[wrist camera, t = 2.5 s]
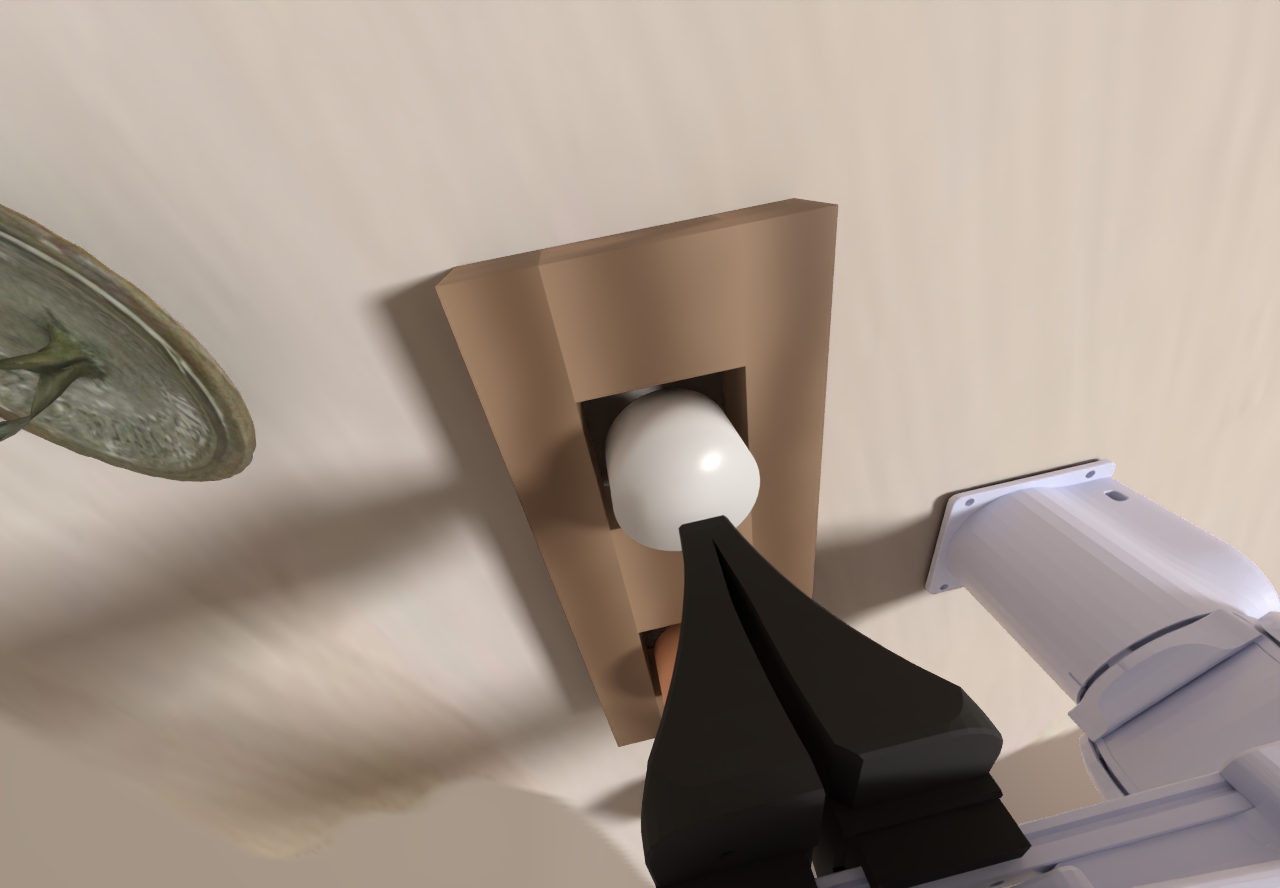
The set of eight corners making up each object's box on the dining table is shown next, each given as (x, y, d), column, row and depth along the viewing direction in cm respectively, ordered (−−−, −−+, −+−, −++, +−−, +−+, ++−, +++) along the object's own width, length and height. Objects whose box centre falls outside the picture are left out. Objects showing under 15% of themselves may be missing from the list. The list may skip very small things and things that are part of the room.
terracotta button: (741, 604, 23) (764, 659, 21) (745, 659, 26) (765, 714, 24) (647, 626, 23) (658, 684, 21) (660, 679, 26) (672, 737, 23)
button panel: (794, 198, 16) (838, 204, 13) (785, 657, 31) (805, 700, 28) (455, 266, 15) (434, 286, 13) (613, 698, 31) (618, 746, 28)
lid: (355, 347, 16) (285, 410, 12) (216, 508, 19) (118, 606, 15) (-44, 59, 11) (-396, -3, 7) (-162, 328, 14) (-475, 400, 10)
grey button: (726, 375, 16) (758, 415, 14) (733, 483, 19) (761, 533, 17) (591, 404, 16) (598, 450, 14) (618, 509, 19) (627, 564, 16)
